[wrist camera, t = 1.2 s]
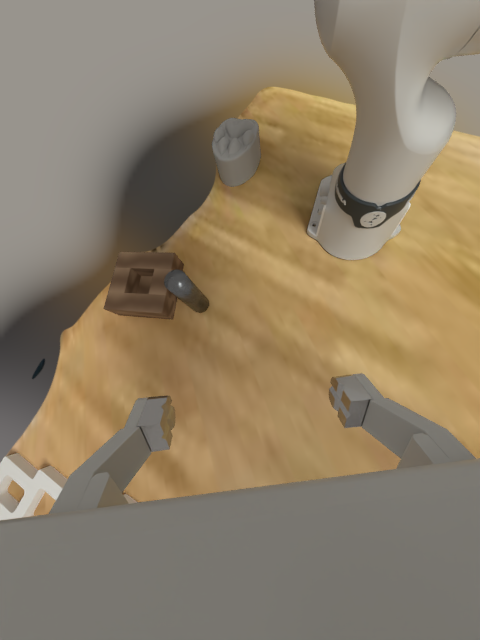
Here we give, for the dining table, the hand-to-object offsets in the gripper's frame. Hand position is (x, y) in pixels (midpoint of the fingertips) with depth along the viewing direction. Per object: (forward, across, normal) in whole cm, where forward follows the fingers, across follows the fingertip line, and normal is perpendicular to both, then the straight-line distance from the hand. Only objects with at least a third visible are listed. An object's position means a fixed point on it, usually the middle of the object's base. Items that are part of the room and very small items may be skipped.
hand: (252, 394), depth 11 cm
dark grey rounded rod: (+38, +7, +12) cm, 41 cm away
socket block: (+44, +19, +9) cm, 49 cm away
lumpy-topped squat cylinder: (+63, -5, -16) cm, 65 cm away
